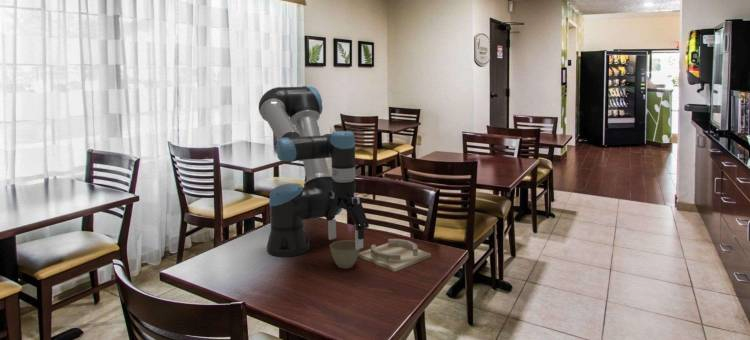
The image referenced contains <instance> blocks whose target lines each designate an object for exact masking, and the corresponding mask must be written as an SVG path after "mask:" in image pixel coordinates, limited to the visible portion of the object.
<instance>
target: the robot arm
mask: <svg viewBox="0 0 750 340" xmlns="http://www.w3.org/2000/svg"><path fill="white" fill-rule="evenodd" d="M258 112H259V114H260V116H261V118H262V119H263V120H264V121H265V122H267V124H268V125H269V127H270V129H271V130H272V132H273V134H274V136H275V139H276V144H275V149H276V152H275V153H276V155H277V159H278V160H279V161H281V162H295V161H296V162H297V161H302V163H303V169H304V172H305V173H304V174H305V177H306V180H305V181H304V183H303V185H302V184H300V183H287V184H281V185H278V186H276V187H275V188H273V189H272V190H271V191H270V192H269V203H268V205H269V211H270V212H269V215H270V233H269V236H268V240H267V243H266V252H267V253H268V254H269V255H271V256H274V257H283V258H284V257H286V258H287V257H295V256H299V255H303V254H305V253H307V252H308V251H309V250H310V241H309V238H308V235H307V233H306V232H307V231H306V230H305V226H304V225H305V223H304V221H305V220H313V219H319V218H325V219H326V221H327V222H326V224H327V230H328V231H327V232H328V233H327V234H328V240H329V241H331V240H334V239H337V221H336V216H338V215H340V214H341V212H342V211H343V210H345V211H346V212H347V213H349V216H350V218H351V220H352V222H353V224H354V226H355V227H356V228H355V229H354V239H355V240H354V241H355V249H360V250H361V249H363V248H364V238H365V229H367V228H369V227H370V224H369V222H368V218H367V216H366V213H365V210H364V207H363V204H362V198H361V197H360V196H358V197H355V195H354V194H355V193H356V191H357V187H356V186H357V185H356V180H355V179H356V178H357V177H356V141H355V140H356V139H355V133H354V132H353V131H349V130H348V131H347V130H340V131H339V130H338V131H337V130H336V131H333V132H331V133H326V134H323V135H321V132H320V128H319V124H318V121H319V119H320V116H321V114H322V112H323V99H322V97H321V94H320V91H319V90H318V89H317V88H315V87H313V86H307V85H302V86H283V87H282V86H277V87H273V88H271V89H269V90H267V91H266V92H265V93H264V94H263V95H262V96H261V98H260V100H259V103H258ZM328 158H329V159H331V160H330V161H331V175H330V172H329V168H328V163H327V159H328Z"/></svg>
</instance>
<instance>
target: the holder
mask: <svg viewBox="0 0 750 340" xmlns="http://www.w3.org/2000/svg"><path fill="white" fill-rule="evenodd" d="M357 258H360V259H362V260H365V261H366V262H370V263H372V264H375V265H377V266H379V267H382V268H385V269H387V270H389V271H392V272H393V273H396V272H398V271H400V270H403V269H405V268H408V267H410V266H412V265H415V264H417V263H420V262H422V261H425V260H427V259H429V258H432V253H431V252H427V251H425V250H421V249H419V248H418V244H416V243H415V242H413V241H412V240H407V239H402V238H388V241H387V243H384V244H381V245H378V246H376V244H371V245H370V248H369V249H366V250H363V251H359V255H358V257H357Z"/></svg>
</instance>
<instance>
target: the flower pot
mask: <svg viewBox="0 0 750 340" xmlns="http://www.w3.org/2000/svg"><path fill="white" fill-rule="evenodd" d="M329 248H330V249H329V250H330V254H331V256H332V258H333V261H334V262H335V265H336V266H337V267H338V268H340V269H351V268H353V266H354V265H355V263H356V261H357V260H358V258H359V257H358V255H359V253H360V252H361V251H360V250H361V248H360V249H355V240H348V239H347V240H337V241H334V242H332V243H330V244H329Z"/></svg>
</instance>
